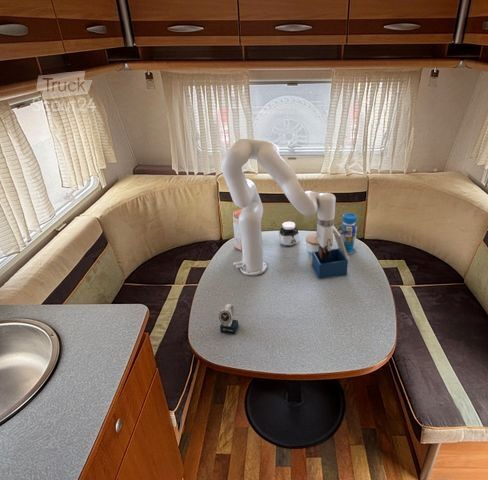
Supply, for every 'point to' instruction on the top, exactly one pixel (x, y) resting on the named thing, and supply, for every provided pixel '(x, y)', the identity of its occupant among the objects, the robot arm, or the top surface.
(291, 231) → the spread jar
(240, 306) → the top surface
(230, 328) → the watch
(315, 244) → the trinket box
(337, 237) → the lid
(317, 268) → the case
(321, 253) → the block
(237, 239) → the cracker box
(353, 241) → the beverage bottle
